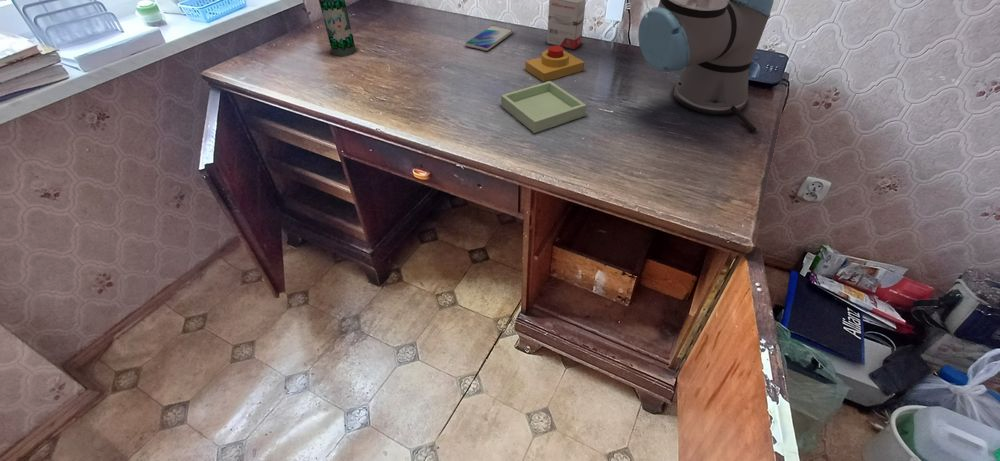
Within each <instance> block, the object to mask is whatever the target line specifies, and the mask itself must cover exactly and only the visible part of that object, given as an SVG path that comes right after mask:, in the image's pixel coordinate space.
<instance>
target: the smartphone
mask: <svg viewBox="0 0 1000 461" xmlns="http://www.w3.org/2000/svg"><path fill="white" fill-rule="evenodd" d="M513 33H514V31H513V30H512V29H510V28H505V27H501V26H497V25H490V26H489V27H487V28H486V29H484V30H483V31H481V32H480V33H478V34H477V35H475V36H474V37H472V38H470V39H468V41H466V42H465V46H466V47H468V48H473V49H477V50H480V51H486V52H487V51H489V50H491V49H492V48H494V47H495V46H496V45H498V44H500V43H501V42H502V41H504V40H505V39H507V38H508V37H509V36H511V35H512V34H513Z"/></svg>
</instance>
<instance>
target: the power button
mask: <svg viewBox="0 0 1000 461" xmlns="http://www.w3.org/2000/svg"><path fill="white" fill-rule="evenodd" d="M547 50H548V56H549V57H551V58H560V57H563V50H564V47H561V46H557V45H551V46H549V47H548V48H547Z"/></svg>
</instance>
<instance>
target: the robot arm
mask: <svg viewBox="0 0 1000 461" xmlns="http://www.w3.org/2000/svg"><path fill="white" fill-rule="evenodd" d="M774 2H775V1H774V0H659V3H658V6H657V7H655V6H654V7H652V8H650V10H648V11H647V12H646V13H644V15H643V16H642V17H641V20H640V22H639V25H638V33H637V36H638V37H637V38H638V44H639V48H640V50H641V54H642V57H643V58H644V60H645V61H646V63H647V64H648V65H649V66H650V67H651V68H653V70H654V69H655V70H656V71H659V72H663V73H668V72H672V71H682V70H683V69H684V71H683V72H682V74H681V76H680V77H679V78H678V80H677V81H676V83H675V85H674V86H675V87H674V90H673V97H674V99H675V100H676V101H677V102H678V103H679V104H680V105H682V106H684V107H685V108H687V109H690V110H692V111H694V112H698V113H701V114H707V115H715V116H723V115H724V116H725V115H733V114H735V115H736V116H737V117H738V118H739V120H740V121H741V122H742V123H743V124H744V125H745V127H746V128H748V129H749V130H750V131H751V132H753V133H754V132H756V131H757V127H756V126H755V125H753V123H752V122H750V121H749V119H748V118H747V117H746V116H745V115H744V114H743V113H742V112H741V111H742V110H743V109H744V108H745V106H746V103H747V101H748V98H749V75H750V74H749V73H750V72H749V70H750V68H751V65H752V63H753V59H754V57H755V54H756V52H757V49H758V46H759V44H760V42H761V39H762V36H763V34H764V31H765V28H766V26H767V23H768V21H769V19H770V17H771V12H772V9H773V5H774Z"/></svg>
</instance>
